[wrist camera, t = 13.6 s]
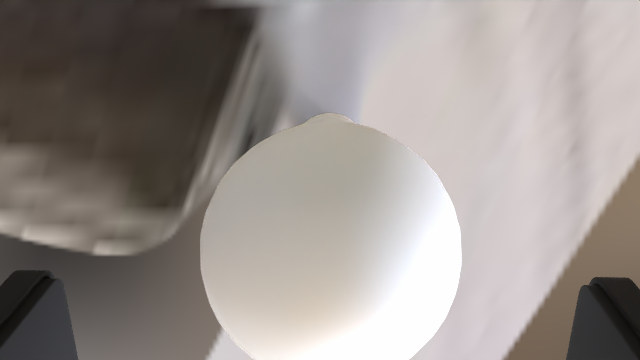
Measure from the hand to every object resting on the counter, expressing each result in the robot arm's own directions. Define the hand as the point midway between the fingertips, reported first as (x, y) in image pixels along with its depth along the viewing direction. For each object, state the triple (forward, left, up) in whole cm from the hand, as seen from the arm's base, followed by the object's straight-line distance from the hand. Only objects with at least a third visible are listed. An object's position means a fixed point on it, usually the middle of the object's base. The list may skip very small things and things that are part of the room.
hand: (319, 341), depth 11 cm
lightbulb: (0, 0, -12) cm, 12 cm away
